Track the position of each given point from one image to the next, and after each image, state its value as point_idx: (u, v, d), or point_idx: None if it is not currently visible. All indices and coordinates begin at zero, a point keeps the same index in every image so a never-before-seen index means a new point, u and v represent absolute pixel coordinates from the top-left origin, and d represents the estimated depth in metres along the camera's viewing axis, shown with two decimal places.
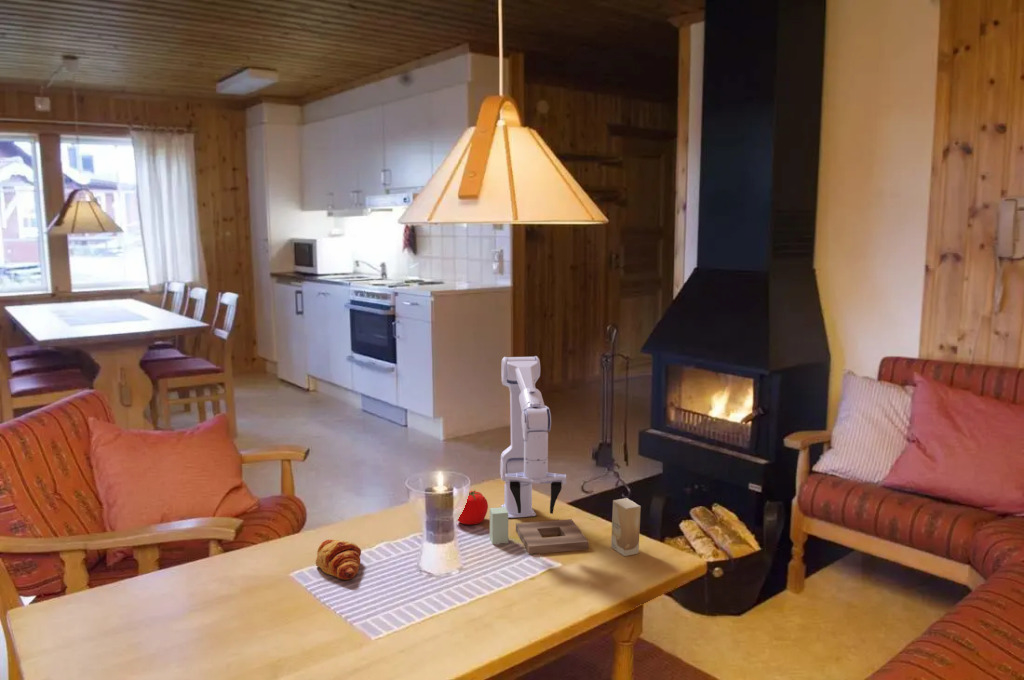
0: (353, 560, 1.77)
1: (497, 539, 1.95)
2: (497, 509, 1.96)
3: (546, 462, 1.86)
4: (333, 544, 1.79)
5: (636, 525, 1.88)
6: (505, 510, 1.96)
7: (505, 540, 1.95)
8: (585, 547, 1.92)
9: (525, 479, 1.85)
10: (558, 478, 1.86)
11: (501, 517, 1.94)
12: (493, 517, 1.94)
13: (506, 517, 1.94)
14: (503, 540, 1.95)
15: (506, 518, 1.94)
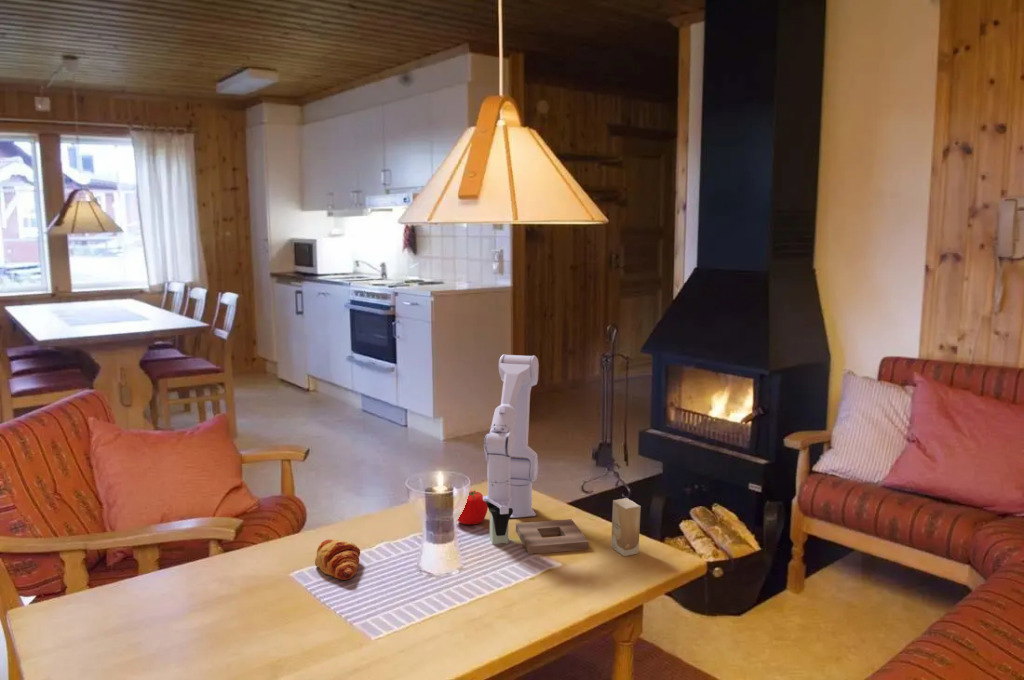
0: (352, 560, 1.77)
1: (497, 538, 1.95)
2: None
3: (495, 486, 1.92)
4: (332, 544, 1.79)
5: (636, 525, 1.88)
6: None
7: (505, 540, 1.95)
8: (585, 547, 1.92)
9: None
10: (497, 505, 1.90)
11: None
12: None
13: None
14: (503, 540, 1.95)
15: None
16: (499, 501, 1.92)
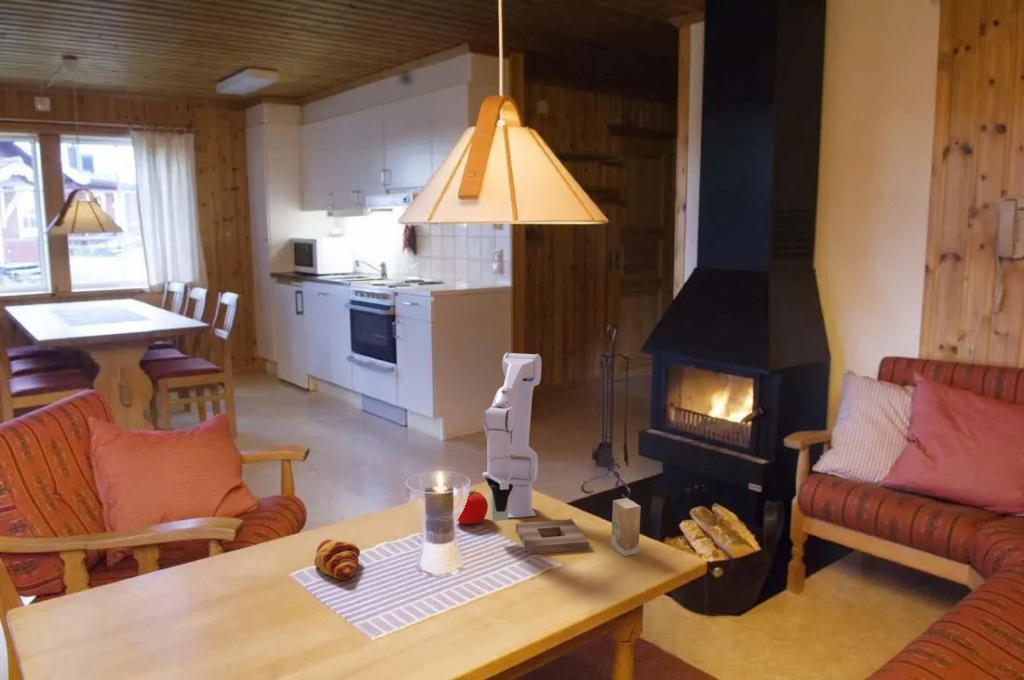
0: (351, 560, 1.77)
1: (497, 515, 1.94)
2: None
3: (495, 461, 1.91)
4: (331, 544, 1.79)
5: (636, 525, 1.88)
6: None
7: (505, 516, 1.94)
8: (585, 547, 1.92)
9: None
10: (497, 481, 1.89)
11: None
12: None
13: None
14: (503, 516, 1.94)
15: None
16: (499, 477, 1.91)
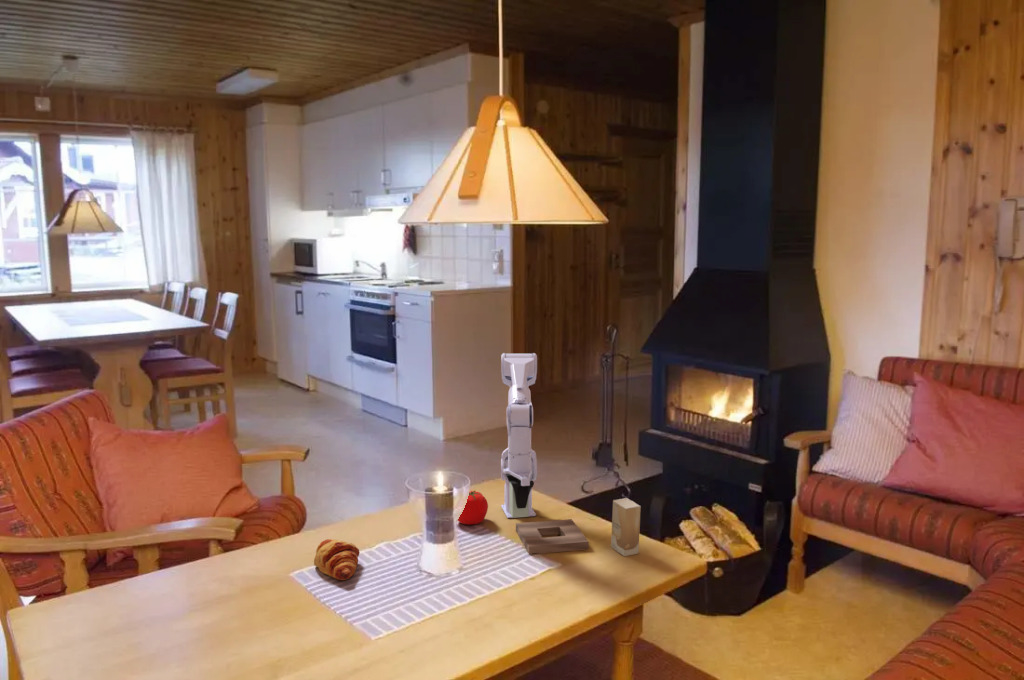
0: (350, 560, 1.77)
1: (517, 512, 1.94)
2: None
3: (516, 458, 1.91)
4: (331, 544, 1.79)
5: (636, 525, 1.88)
6: None
7: (525, 513, 1.94)
8: (585, 547, 1.92)
9: None
10: (518, 477, 1.89)
11: None
12: (513, 490, 1.93)
13: None
14: (523, 513, 1.94)
15: None
16: (520, 473, 1.91)
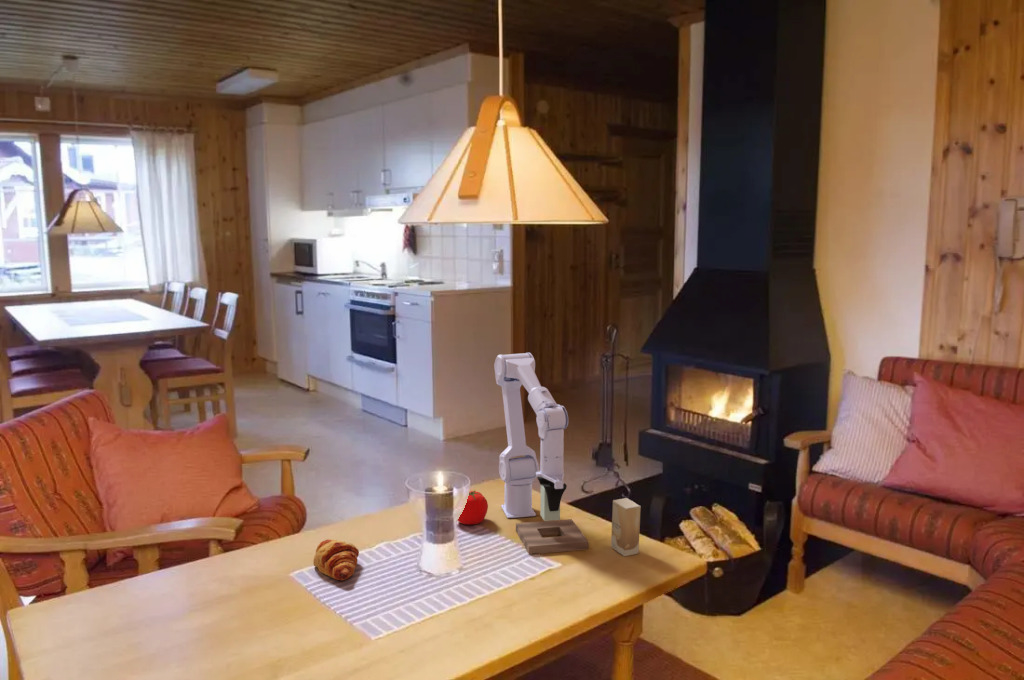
0: (349, 561, 1.77)
1: (549, 515, 1.94)
2: None
3: (549, 461, 1.92)
4: (330, 544, 1.79)
5: (636, 525, 1.88)
6: None
7: (557, 516, 1.95)
8: (585, 547, 1.92)
9: None
10: (552, 480, 1.90)
11: None
12: (545, 493, 1.93)
13: None
14: (555, 516, 1.95)
15: None
16: (553, 476, 1.92)
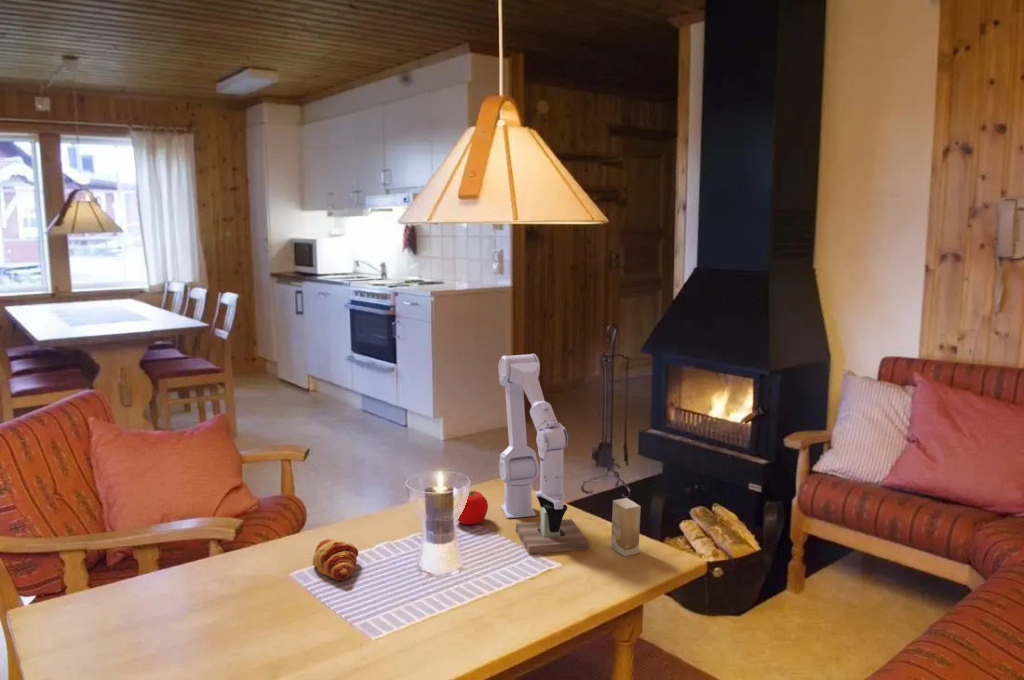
0: (348, 561, 1.77)
1: None
2: None
3: (549, 481, 1.93)
4: (329, 544, 1.79)
5: (636, 525, 1.88)
6: None
7: None
8: (585, 547, 1.92)
9: None
10: (552, 500, 1.90)
11: None
12: (545, 516, 1.94)
13: None
14: None
15: None
16: (552, 496, 1.93)
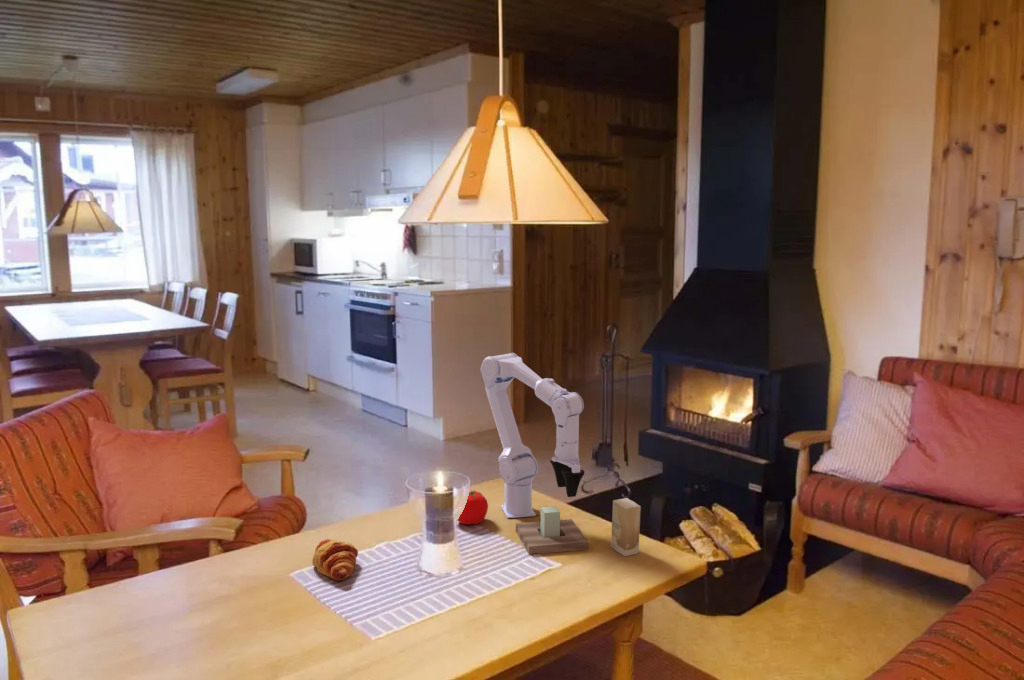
0: (348, 561, 1.77)
1: None
2: (548, 508, 1.97)
3: (566, 446, 1.98)
4: (329, 544, 1.79)
5: (636, 525, 1.88)
6: (557, 509, 1.96)
7: None
8: (585, 547, 1.92)
9: (555, 456, 2.03)
10: (569, 464, 1.96)
11: (553, 516, 1.95)
12: (545, 516, 1.94)
13: (558, 516, 1.95)
14: None
15: (558, 517, 1.95)
16: (569, 461, 1.98)
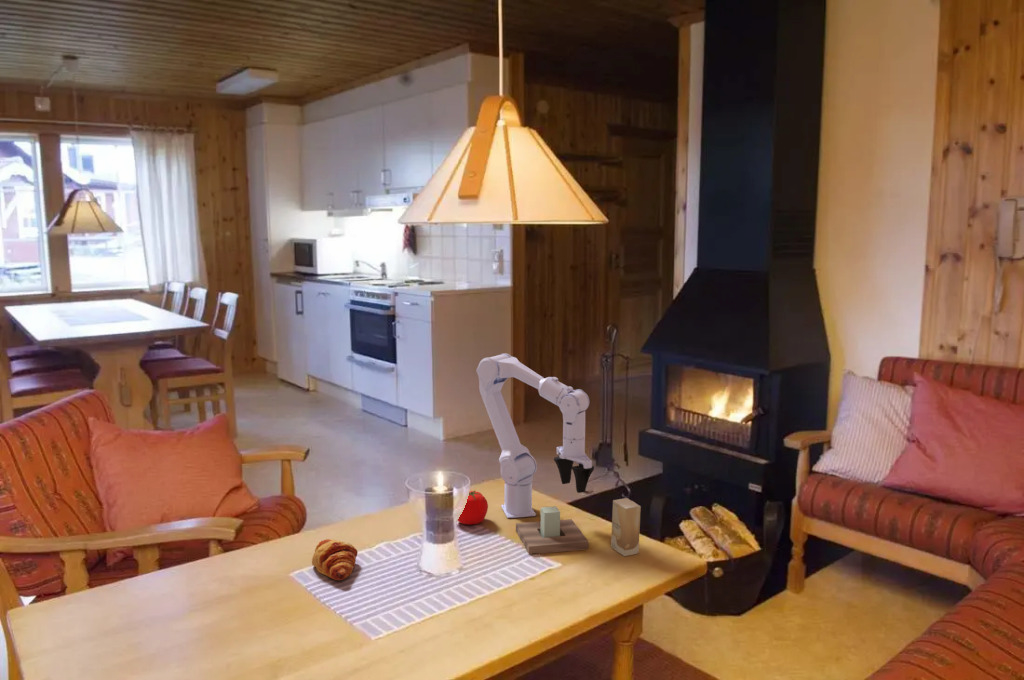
0: (347, 561, 1.77)
1: None
2: (548, 508, 1.97)
3: (575, 443, 2.01)
4: (328, 544, 1.79)
5: (636, 525, 1.88)
6: (557, 509, 1.96)
7: None
8: (585, 547, 1.92)
9: (561, 453, 2.05)
10: (580, 461, 1.99)
11: (553, 516, 1.95)
12: (545, 516, 1.94)
13: (558, 516, 1.95)
14: None
15: (558, 517, 1.95)
16: (578, 457, 2.01)
